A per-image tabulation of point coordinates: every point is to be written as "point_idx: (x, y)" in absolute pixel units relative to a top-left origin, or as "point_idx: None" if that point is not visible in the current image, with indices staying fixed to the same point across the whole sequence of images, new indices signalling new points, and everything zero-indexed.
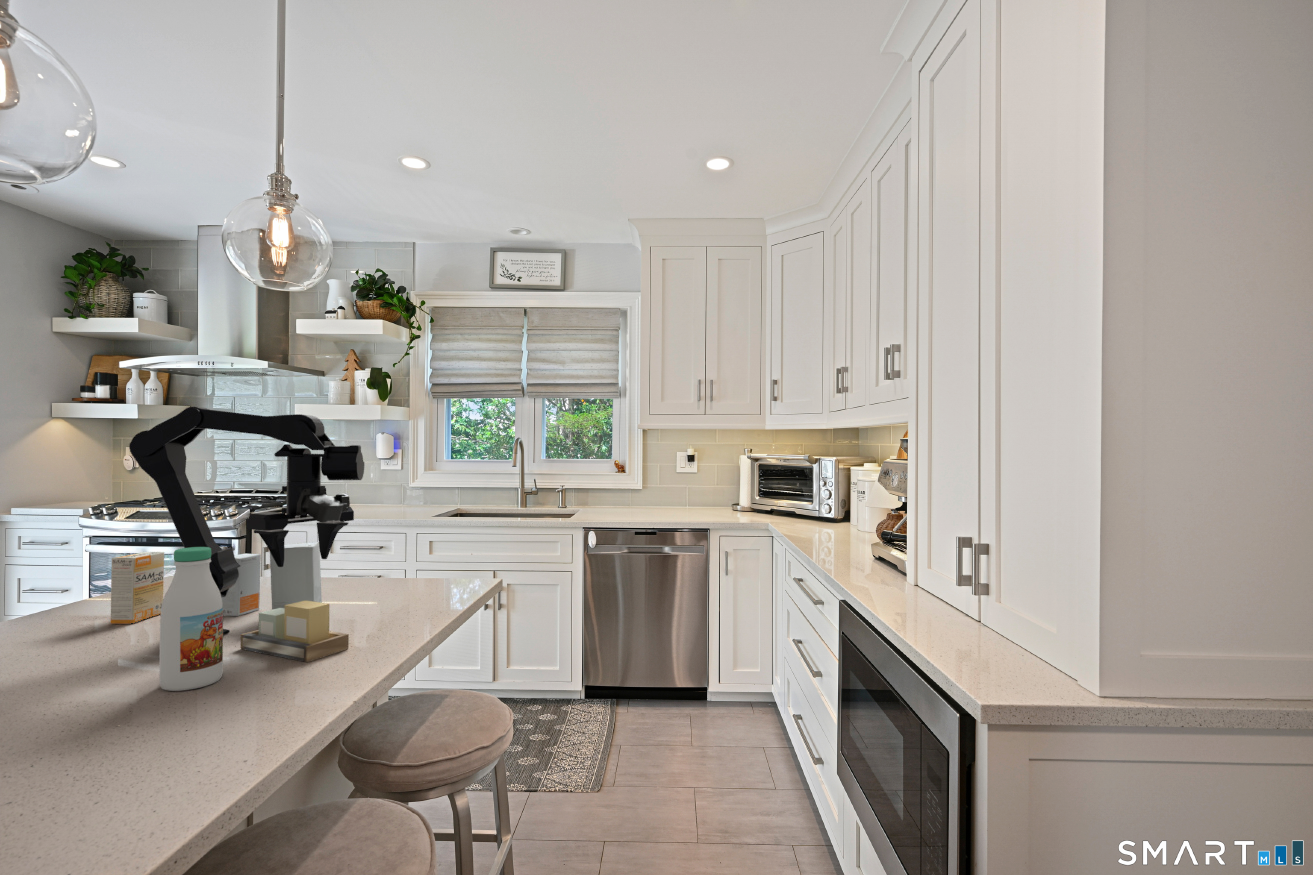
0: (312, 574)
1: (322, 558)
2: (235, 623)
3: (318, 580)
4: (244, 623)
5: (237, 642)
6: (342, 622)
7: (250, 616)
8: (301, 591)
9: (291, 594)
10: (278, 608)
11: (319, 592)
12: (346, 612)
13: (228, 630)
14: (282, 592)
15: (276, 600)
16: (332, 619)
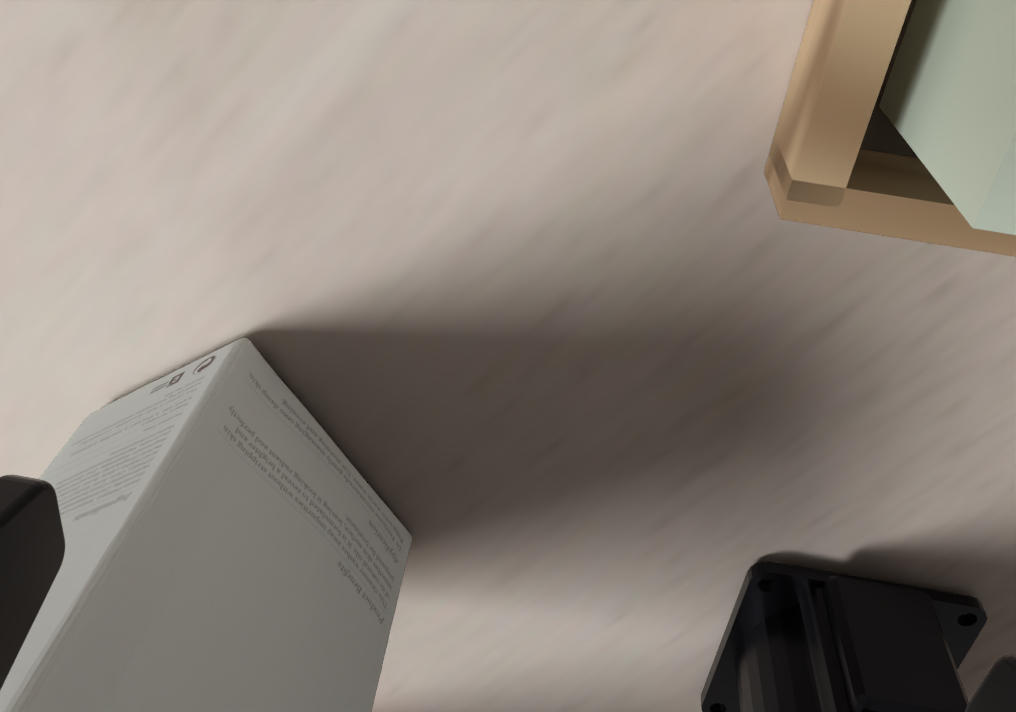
0: (88, 604)
1: (59, 542)
2: (548, 662)
3: None
4: (531, 624)
5: (956, 375)
6: (227, 12)
7: (396, 685)
8: (231, 546)
9: (293, 583)
10: (1009, 218)
11: (56, 492)
12: (3, 221)
13: (763, 575)
14: (331, 646)
15: (370, 625)
16: (203, 174)
